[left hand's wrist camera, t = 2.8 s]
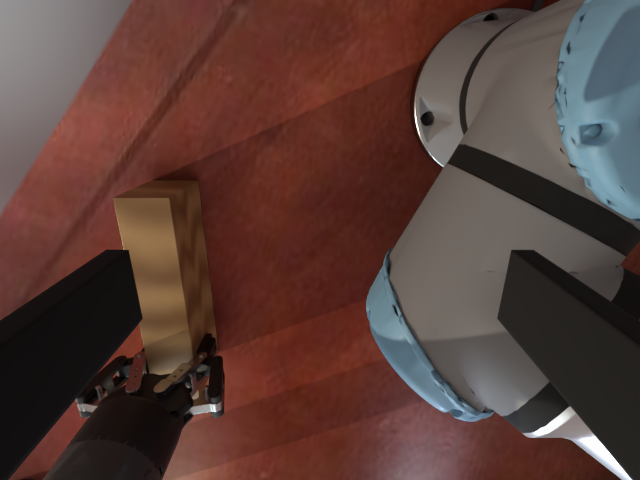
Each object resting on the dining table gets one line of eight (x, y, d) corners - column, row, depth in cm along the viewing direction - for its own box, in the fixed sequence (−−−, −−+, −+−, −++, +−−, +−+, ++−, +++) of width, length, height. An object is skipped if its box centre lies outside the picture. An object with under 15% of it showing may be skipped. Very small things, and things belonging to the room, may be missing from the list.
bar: (152, 180, 39) (112, 197, 31) (198, 180, 39) (169, 197, 31) (181, 352, 47) (154, 399, 39) (218, 352, 47) (199, 399, 39)
